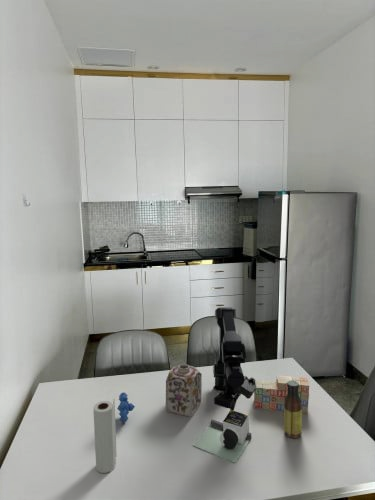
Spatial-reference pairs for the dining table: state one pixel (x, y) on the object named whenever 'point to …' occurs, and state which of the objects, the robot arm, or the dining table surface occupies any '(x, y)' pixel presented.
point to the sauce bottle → (292, 411)
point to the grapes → (124, 407)
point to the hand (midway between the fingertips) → (232, 410)
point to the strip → (220, 426)
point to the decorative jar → (183, 390)
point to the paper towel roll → (105, 436)
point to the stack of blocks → (279, 393)
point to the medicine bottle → (234, 429)
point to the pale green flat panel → (219, 445)
